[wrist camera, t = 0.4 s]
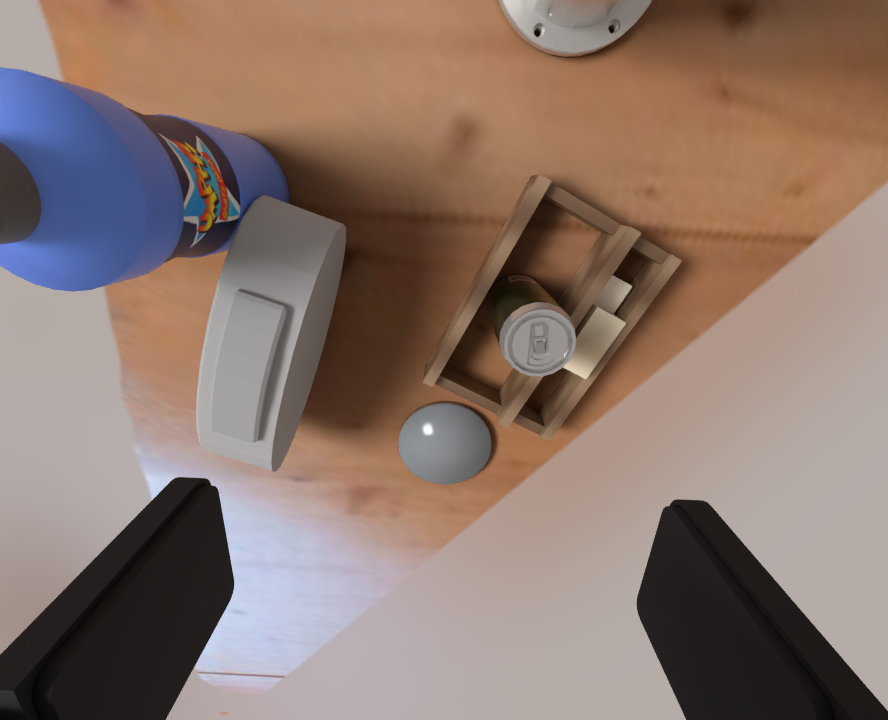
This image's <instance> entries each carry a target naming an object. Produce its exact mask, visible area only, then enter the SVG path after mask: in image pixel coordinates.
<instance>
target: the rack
mask: <svg viewBox="0 0 888 720" xmlns="http://www.w3.org/2000/svg"><path fill="white" fill-rule="evenodd" d="M551 182H552V181H551V180H550V179H548V178H546V177H545V176H543V175H541V174H539V175H534V176H531V178H530V180H529V182H528V183H527V185H526V187H525V189H524V191H523V192H522V194H521V196H520V198H519V199H518V201H517V203H516V205H515V207H514V208H513V210H512V212H511V214H510V216H509V217H508V219H507V221H506V223H505V224H504V226H503V228H502V230H501V232H500V233H499V235H498V237H497V239H496V241H495V242H494V244H493V246H492V248H491V249H490V251H489V253H488V255H487V257H486V258H485V260H484V262H483V264H482V266H481V267H480V269H479V271H478V273H477V274H476V276H475V278H474V280H473V282H472V283H471V285H470V287H469V289H468V291H467V292H466V294H465V296H464V298H463V300H462V301H461V303H460V305H459V307H458V308H457V310H456V312H455V314H454V316H453V317H452V319H451V321H450V323H449V325H448V326H447V328H446V330H445V332H444V333H443V335H442V337H441V339H440V341H439V342H438V344H437V346H436V348H435V350H434V351H433V353H432V355H431V357H430V358H429V360H428V362H427V364H426V366H425V371H424V378H423V383H424V384H426V385H428V386H430V387H433V385H434V384H436V385H438V386H440V387H442V388H444V389H446V390H448V391H450V392H453V393H455V394H457V395H459V396H461V397H463V398H465V399H467V400H469V401H471V402H473V403H475V404H477V405H479V406H481V407H483V408H485V409H487V410H490V411H492V412H494V413H496V415H497V420H498V424H499V425H501V426H503V427H505V428H507V429H508V427H509V426H510V424H511V423H512V422H514V423H516V424H518V425H520V426H522V427H524V428H527V429H529V430H531V431H533V432H535V433H537V434H539V435H540V438H542V439H545V440H547V441H550V440H551V438H552V437H553V435H554V434H555V433H556V431H557V430H558V429H559V427H560V426H561V425H562V423H563V422H564V421H565V419H566V418H567V416H568V415H569V414H570V412H571V411H572V410H573V408H574V407H575V406H576V404H577V403H578V402H579V400H580V399H581V397H582V396H583V395H584V393H585V392H586V391H587V389H588V388H589V387H590V385H591V384H592V383H593V381H594V380H595V378H596V377H597V376H598V374H599V373H600V372H601V370H602V369H603V368H604V366H605V365H606V364H607V362H608V361H609V359H610V358H611V357H612V355H613V354H614V353H615V351H616V350H617V349H618V347H619V346H620V345H621V343H622V342H623V340H624V339H625V338H626V336H627V335H628V334H629V332H630V331H631V330H632V328H633V327H634V326H635V324H636V323H637V321H638V320H639V319H640V317H641V316H642V315H643V313H644V312H645V311H646V309H647V308H648V307H649V305H650V304H651V302H652V301H653V300H654V298H655V297H656V296H657V294H658V293H659V292H660V290H661V289H662V288H663V286H664V285H665V283H666V282H667V281H668V279H669V278H670V277H671V275H672V274H673V273H674V271H675V270H676V269H677V267H678V266H679V264H680V263H681V262H682V260H680V259H678V258H677V257H675V256H673V255H671V254H669V253H667V252H665V251H664V250H662V249H660V248H659V247H657V246H655V245H654V244H652V243H650V242H649V241H647V240H645V239H644V238H642V237H640V234H641V233H640V232H639V231H637V230H636V229H634V228H632V227H630V226H625V225H621V224H619V223H617V222H616V221H614V220H612V219H611V218H609V217H607V216H606V215H604V214H603V213H601V212H599V211H598V210H596V209H594V208H593V207H591V206H589V205H588V204H586V203H584V202H583V201H581V200H579V199H578V198H576V197H574V196H573V195H571V194H569V193H568V192H566V191H565V190H563V189H561V188H560V187H558V186H556V185H555V184H553V183H551ZM542 197H543V198H544V199H546V200H548V201H549V202H551V203H553V204H554V205H556V206H558V207H559V208H561V209H563V210H564V211H566V212H568V213H569V214H571V215H573V216H575V217H576V218H578V219H580V220H581V221H583V222H585V223H586V224H588V225H590V226H591V227H593V228H595V229H596V230H598V231H600V232H601V234H600V236H599V237H598V239H597V241H596V242H595V244H594V245H593V247H592V248H591V250H590V251H589V253H588V254H587V256H586V258H585V259H584V261H583V262H582V264H581V265H580V267H579V268H578V270H577V271H576V273H575V274H574V276H573V278H572V279H571V281H570V282H569V284H568V285H567V287H566V288H565V290H564V291H563V293H562V295H561V296H560V298H559V299H558V301H557V303H558V304H559V305H560V307H561V308H562V309H563V310H564V311H565V312H566V313H567V314H568V315H569V317H570V319H571V320H572V322H573V324H574V329H576V328H577V326H578V325H579V323H580V322H581V321H582V319H583V318H584V316H585V315H586V313H587V312H588V310H589V309H590V307H591V306H592V304H593V303H594V302H595V300H596V299H597V297H598V296H599V294H600V293H601V291H602V290H603V288H604V287H605V285H606V284H607V282H608V281H609V280H610V278H611V277H612V275H613V274H614V272H615V271H616V269H617V268H618V266H619V265H620V263H621V262H622V261H623V259H624V258H625V256H626V255H627V253H628V252H629V250H632V251H633V252H635V253H637V254H638V255H640V256H642V257H643V258H645V259H647V260H646V261H645V263H644V264H643V265H642V267H641V268H640V270H639V271H638V272H637V274H636V275H635V277H634V278H633V280H632V281H631V282H630V285H631V286H632V288H631V289H630V291H629V292H628V294H627V295H626V297H625V298H624V300H623V301H622V302H621V304H620V305H619V307H618V308H617V310H616V311H615V313H614V315H616V316H617V317H619V318H620V319H621V320H623V321H624V322H626V324H625V326H624V327H623V329H622V330H621V331H620V333H619V334H618V336H617V337H616V338H615V340H614V341H613V342H612V344H611V345H610V347H609V348H608V349H607V351H606V352H605V354H604V355H603V356H602V358H601V359H600V361H599V362H598V363H597V365H596V366H595V368H594V369H593V370H592V372H591V373H590V375H589V376H588V377H587V379H584V378H582V377H580V376H578V375H577V374H575V373H573V372H571V371H569V370H568V372H567V373H566V375H565V376H564V378H563V379H562V380H561V382H560V383H559V385H558V386H557V387H556V389H555V390H554V392H553V393H552V395H551V396H550V397H549V399H548V400H547V402H546V403H545V405H544V406H543V407H542V409H541V410H540V412H537V411H535V410H533V409H531V408H529V407H527V406H525V405H524V404H525V402H526V401H527V400H528V398H529V397H530V395H531V394H532V392H533V391H534V389H535V388H536V386H537V385H538V383H539V382H540V381H541V379H542V378H543V376H542V377H541V376H529V375H526V374H523V373H520V372H519V371H518V370H516V369H515V368H514V369H513V370H512V372H511V373H510V375H509V376H508V378H507V379H506V381H505V382H504V384H503V386H502V387H501V389H500V390H499V392H497V391H495V390H493V389H491V388H489V387H487V386H485V385H483V384H481V383H479V382H477V381H475V380H473V379H471V378H469V377H467V376H465V375H463V374H461V373H459V372H457V371H455V370H453V369H451V368H449V367H447V366H445V365H446V363H447V361H448V360H449V358H450V356H451V354H452V353H453V351H454V349H455V348H456V346H457V344H458V342H459V341H460V339H461V337H462V335H463V334H464V332H465V330H466V329H467V327H468V325H469V323H470V322H471V320H472V318H473V316H474V315H475V313H476V311H477V310H478V308H479V306H480V304H481V303H482V301H483V299H484V297H485V296H486V294H487V292H488V291H489V289H490V287H491V285H492V284H493V282H494V280H495V278H496V277H497V275H498V273H499V272H500V270H501V268H502V266H503V265H504V263H505V261H506V259H507V258H508V256H509V254H510V253H511V251H512V249H513V247H514V246H515V244H516V242H517V240H518V239H519V237H520V235H521V234H522V232H523V230H524V228H525V227H526V225H527V223H528V221H529V220H530V218H531V216H532V215H533V213H534V211H535V209H536V208H537V206H538V204H539V202H540V201H541V199H542Z"/></svg>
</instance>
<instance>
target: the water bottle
mask: <svg viewBox="0 0 888 720" xmlns="http://www.w3.org/2000/svg"><path fill="white" fill-rule="evenodd" d="M263 195H266V196H269V197H272V198H275V199H277V200H280V201H283V202H285V203H288V204H289V189H288V185H287V180H286V177H285V175H284V172H283V170H282V168H281V166H280V165H279V163H278V161H277V160H276V158H275V157H274V156H273V155H272V154H271V153H270V151H269V150H268V149H266V148H265V147H264V146H263V145H262V144H260V143H259V142H257V141H256V140H254V139H252V138H250V137H248V136H245V135H242V134H239V133H235V132H232V131H228V130H225V129H221V128H217V127H214V126H210V125H206V124H203V123H199V122H195V121H191V120H187V119H183V118H180V117H176V116H170V115H161V114H157V115H143V114H140V113H138V112H136V111H133V110H131V109H129V108H127V107H125V106H123V105H122V104H120V103H119V102H117V101H115V100H113V99H111V98H109V97H108V96H106V95H104V94H102V93H99V92H96V91H93V90H90V89H87V88H84V87H80V86H77V85H73V84H70V83H66V82H62V81H59V80H55V79H52V78H48V77H45V76H41V75H37V74H34V73H31V72H27V71H23V70H18V69H9V68H0V266H2V267H4V268H5V269H7V270H8V271H10V272H11V273H13V274H14V275H16V276H19V277H21V278H23V279H25V280H27V281H29V282H32V283H34V284H37V285H40V286H44V287H47V288H51V289H55V290H64V291H83V290H92V289H95V288H99V287H103V286H106V285H110V284H114V283H117V282H121V281H125V280H128V279H132V278H135V277H138V276H142V275H145V274H148V273H150V272H151V271H153V270H155V269H156V268H158V267H159V266H161V265H162V264H163V263H165V262H167V261H169V260H171V259H174V258H176V257H188V258H194V257H203V256H207V255H211V254H215V253H219V252H223V251H227V250H229V248H230V245H231V243H232V240H233V238H234V236H235V234H236V231H237V229H238V227H239V225H240V222H241V220H242V218H243V216H244V215H245V213H246V212H247V210H248V209H249V207H250V206H251V204H252V203H253V201H255V200H256V199H258V198H259V197H261V196H263Z"/></svg>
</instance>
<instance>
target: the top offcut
mask: <svg viewBox="0 0 888 720" xmlns="http://www.w3.org/2000/svg"><path fill="white" fill-rule="evenodd" d="M625 324H626V322H624V321H623V320H621V319H620V318H619V317H617V316H616V315H614V314H612V313H610V312H609V311H607V310H605V309H603V308H601V307H600V306H598V305H596V304H594V303H593V304H592V306H591V307H590V309H589V310H588V312H587V313H586V315H585V316H584V318H583V319H582V321H581V322H580V323H579V325H578V326H577V328H576V329H575V336H576V344H575V351H574V353H573V355H572V356H571V358H570V360H569V361H568V362H567V363H566V364H565V365H564V367H563V368H565V369H567V370H569V371H571V372H573V373H575V374H577V375H578V376H580V377H582V378H584V379H587V377H588V376H589V375H590V373H591V372H592V370H593V369H594V368H595V366H596V365H597V363H598V362H599V361H600V359H601V358H602V356H603V355H604V354H605V352H606V351H607V349H608V348H609V347H610V345H611V344H612V342H613V341H614V340H615V338H616V337H617V336H618V334H619V333H620V331H621V330H622V329H623V327H624V326H625Z"/></svg>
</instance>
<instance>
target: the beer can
mask: <svg viewBox="0 0 888 720" xmlns="http://www.w3.org/2000/svg"><path fill="white" fill-rule="evenodd" d="M487 307H488V311H489V315H490V318H491V321H492V324H493V327H494V331H495V334H496V337H497V340H498V343H499V346H500V350H501V353H502V355H503V356H504V358H505V359H506V361H507V362H508V364H510V365H511V366H512V367H514V368H515V369H516V370H518V371H519V372H520V373H523V374H526V375H529V376H541V377H542V376H545V375H549V374H553V373H554V372H556V371H558V370H560V369H561V368H563V367H564V365H565V364H566V363H567V362H568V361H569V360H570V358H571V356H572V355H573V353H574V351H575V344H576V336H575V329H574V324H573V322H572V320H571V319H570V317H569V315H568V314H567V313H566V312H565V311H564V310H563V309H562V308H561V307H560V305H559V304H558V303H557V302H556V301H555V300H554V299H553V298H552V297H551V296H550V295H549V294H548V293H547V292H546V291H545V290H544V289H543V288H542V287H541V286H540V285H539V284H538V283H537V282H536V281H535V280H534V279H532V278H530V277H527V276H525V275H512V276H508V277H505V278H504V279H502V280H500V281H499V282H497V284H496V285H495V286H494V287H493V288H492V290H491V292H490V295H489V297H488V306H487Z"/></svg>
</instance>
